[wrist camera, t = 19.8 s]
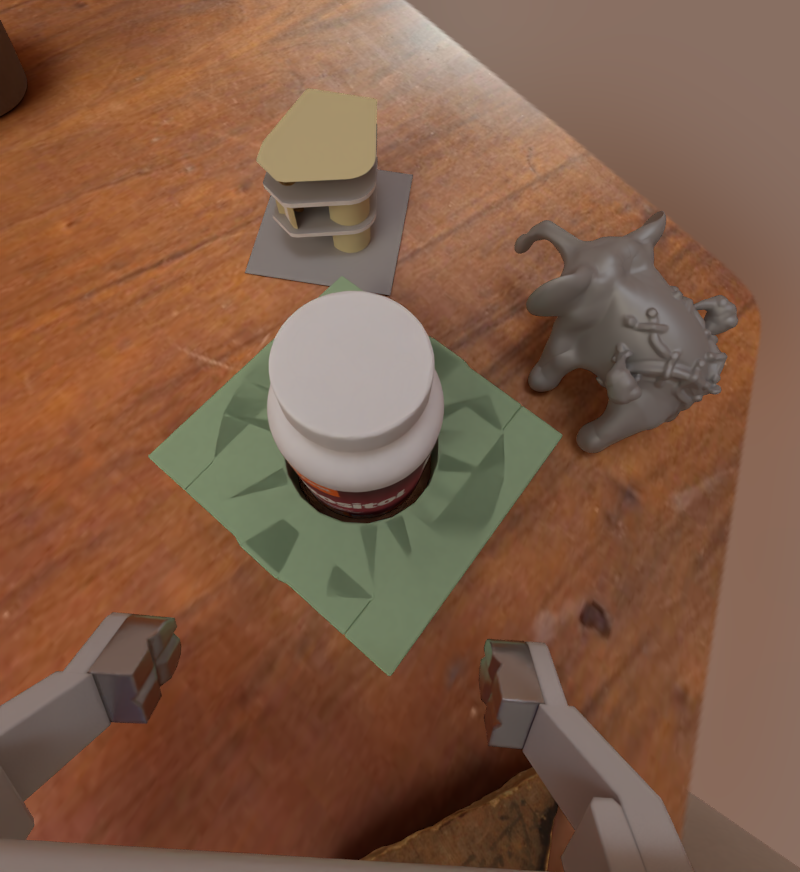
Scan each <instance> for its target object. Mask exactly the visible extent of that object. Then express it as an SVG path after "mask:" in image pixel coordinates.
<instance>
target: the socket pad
mask: <svg viewBox="0 0 800 872" xmlns="http://www.w3.org/2000/svg"><path fill="white" fill-rule="evenodd" d="M343 291H363V290H361V289H360V288H358V287H357V286H356V285H354V284H353V283H352V282H350V281H349V280H347V279H346V278H345V277H343V276H341V277H340V278H339V279H338V280H336V281H335V282H334V283H333V284H332V285H331V286H330V287H329V288H328V289H327V290H326V291H325V292H324V293H323V294H321V295H320V296H319V297H321V296H324V295H327V294H331V293H336V292H343ZM319 297H318V298H319ZM428 337H429V339H430V342H431V345H432V348H433V353H434V362H435V370H436V372H437V374H438V377H439V379H440V382H441V386H442V391H443V396H444V416H443V422H442V426H441V430H440V433H439V436H438V438H437V441H436V443H435V446H434V448H433V450H432V452H431V471H430V479H429V481H428V484H427V487H426V489H425V490H424V491H423V493H422V494H421V495H420V496H419V498H418V499H417V500H416V501H415V502H414V503H413V504H412V505H410V506H409V507H407V508H406V509H404V510H402V511H401V512H399V513H398V514H396V515H395V516H393V517H390V518H386V519H382V520H379V521H375V522H371V523H356V522H342V521H340V520H337V519H335V518H332V517H330V516H327V515H325V514H322V513H320V512H318V511H317V510H316V509H315V508H314V507H313V506H311V505H310V504H309V503H308V501H307V499H306V497H305V496H304V494H303V492H302V491H301V489H300V485H299V480H298V475H297V473H296V472H295V470H294V469H293V468H292V467H291V465H290V464H289V463H288V461H287V460H286V459H285V458H284V456H283V455H282V453H281V452H280V450H279V449H278V447H277V445H276V443H275V441H274V438H273V436H272V433H271V430H270V427H269V422H268V416H267V399H268V392H269V388H270V384H271V383H270V377H269V355H270V351H271V347H272V345H273V341H274V339H275V338H274V339H273V340H272V341H271V342H270V343H269V344H268V345H267V346H266V347H265V348H263V349H262V350H261V351H260V352H259V353H258V354H257V355H256V356H255V357H254V358H253V359H252V360H251V361H250V362H248V363H247V364H246V365H245V366H244V367H243V368H242V369H241V370H240V371H239V372H238V373H237V374H236V375H234V376H233V377H232V378H231V379H230V380H229V381H228V382H227V383H226V384H225V385H224V386H223V387H222V388H221V389H219V390H218V391H217V392H216V393H215V394H214V395H213V396H212V397H211V398H210V399H209V400H208V401H207V402H206V403H204V404H203V405H202V406H201V407H200V408H199V409H198V410H197V411H196V412H195V413H194V414H193V415H192V416H190V417H189V418H188V419H187V420H186V421H185V422H184V423H183V424H182V425H181V426H180V427H179V428H178V429H177V430H175V431H174V432H173V433H172V434H171V435H170V436H169V437H168V438H167V439H166V440H165V441H164V442H163V443H162V444H160V445H159V446H158V447H157V448H156V449H155V450H154V451H153V452H152V453H151V454H150V455H149V456H148V457H149V458H150V459H151V460H152V461H153V462H154V463H155V464H156V465H157V466H159V467H160V468H161V469H162V470H163V471H164V472H165V473H166V474H167V475H168V476H170V477H171V478H172V479H173V480H174V481H175V482H176V483H177V484H178V485H179V486H180V487H182V488H183V489H184V490H186V492H187V493H188V494H189V495H190V496H192V497H193V498H194V499H195V500H196V501H197V502H198V503H199V504H200V505H201V506H202V507H204V508H205V509H206V510H207V511H208V512H209V513H210V514H211V515H212V516H213V517H215V518H216V519H217V520H218V521H219V522H220V523H221V524H222V525H223V526H224V527H225V528H227V529H228V530H229V531H230V532H231V533H232V534H233V535H234V536H235V537H236V539H237V541H238V543H239V545H240V546H241V547H242V548H243V549H244V550H245V551H246V552H247V553H248V554H249V555H250V556H252V557H253V558H254V559H255V560H256V561H257V562H258V563H259V564H260V565H261V566H262V567H264V568H265V569H266V570H267V571H268V572H269V573H270V574H271V575H272V576H273V577H275V578H278V580H279V581H282V582H284V583H287V584H288V585H289V586H290V587H291V588H292V589H293V590H295V591H296V592H297V593H298V594H299V595H300V596H301V597H302V598H303V599H304V600H306V601H307V602H308V603H309V604H310V605H311V606H312V607H313V608H314V609H315V610H316V611H318V612H319V613H320V614H321V615H322V616H323V617H324V618H325V619H326V620H327V621H329V622H330V623H331V624H332V625H333V626H334V627H335V628H336V629H337V630H338V631H340V632H341V633H342V634H345V637H346V638H347V639H348V640H350V641H351V642H352V643H353V644H354V645H355V646H356V647H357V648H358V649H359V650H360V651H362V652H363V653H364V654H365V655H366V656H367V657H368V658H369V659H370V660H371V661H373V662H374V663H375V664H376V665H377V666H378V667H379V668H380V669H381V670H382V671H384V672H385V673H386V674H387V675H388V676H391V675H392V674H393V672H394V671H395V670H396V668H397V667H398V665H399V664H400V663H401V661H402V660H403V658H404V657H405V656H406V654H407V653H408V651H409V650H410V649H411V647H412V646H413V644H414V643H415V642H416V640H417V639H418V637H419V636H420V635H421V633H422V632H423V630H424V629H425V628H426V626H427V625H428V623H429V622H430V621H431V619H432V618H433V616H434V615H435V614H436V612H437V611H438V610H439V608H440V607H441V605H442V604H443V603H444V601H445V600H446V598H447V597H448V596H449V594H450V593H451V591H452V590H453V589H454V587H455V586H456V584H457V583H458V582H459V580H460V579H461V577H462V576H463V575H464V573H465V572H466V570H467V569H468V568H469V566H470V565H471V563H472V562H473V561H474V559H475V558H476V556H477V555H478V554H479V552H480V551H481V549H482V548H483V547H484V545H485V544H486V542H487V541H488V540H489V538H490V537H491V536H492V534H493V533H494V531H495V530H496V529H497V527H498V526H499V524H500V523H501V522H502V520H503V519H504V517H505V516H506V515H507V513H508V512H509V510H510V509H511V508H512V506H513V505H514V503H515V502H516V501H517V499H518V498H519V496H520V495H521V494H522V492H523V491H524V489H525V488H526V487H527V485H528V484H529V482H530V481H531V480H532V478H533V477H534V475H535V474H536V473H537V471H538V470H539V469H540V467H541V466H542V464H543V463H544V462H545V460H546V459H547V457H548V456H549V455H550V453H551V452H552V450H553V449H554V448H555V446H556V445H557V443H558V442H559V441H560V439H561V438H562V434H561V433H559V432H558V431H557V430H555V429H554V428H552V427H551V426H550V425H548V424H547V423H546V422H544V421H543V420H541V419H540V418H539V417H537V416H536V415H534V414H533V413H532V412H530V411H529V410H527V409H526V408H525V407H523V406H521V404H520V403H518V402H517V401H515V400H514V399H513V398H511V397H510V396H508V395H507V394H506V393H504V392H503V391H501V390H500V389H499V388H497V387H496V386H495V385H493V384H492V383H490V382H489V381H488V380H486V379H485V378H483V377H482V376H481V375H479V374H478V373H476V372H475V371H474V370H472V369H471V368H470V367H469V366H468V365H467V363H466V362H464V360H463V359H461V358H460V357H459V356H457V355H456V354H455V353H453V352H452V351H450V350H449V349H448V348H446V347H445V346H443V345H442V344H441V343H439V342H438V341H436V340H435V339H434V338H431V337H430V336H428Z"/></svg>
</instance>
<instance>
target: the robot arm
mask: <svg viewBox="0 0 800 872" xmlns="http://www.w3.org/2000/svg"><path fill="white" fill-rule="evenodd" d="M176 628H177V625H176V621H175V618H170V617H160V616H149V615H139V614H128V613H115V612H113V613H111V614H110V615H108V616H107V617H106V618H105V619H104V620H103V621H102V623H101V624H100V625H99V626H98V628H97V629H96V630H95V631H94V633H93V634H92V635H91V637H90V638H89V639H88V640H87V642H86V643H85V644H84V645H83V647H82V648H81V649H80V650H79V652H78V653H77V654H76V655H75V657H74V658H73V659H72V660H71V662H70V663H69V664H68V665H67V667H66V668H65V669H64V671H56V672H55V673H53V674H51V675H50V676H48V677H46V678H45V679H43V680H42V681H40V682H38V683H37V684H35V685H34V686H32V687H30V688H29V689H27V690H25V691H24V692H22V693H21V694H19V695H17V696H16V697H14V698H13V699H11V700H9V701H8V702H6V703H4V704H3V705H1V706H0V872H546V871H529V870H513V869H497V868H480V867H464V866H447V865H431V864H415V863H398V862H382V861H365V860H349V859H333V858H316V857H300V856H283V855H267V854H251V853H234V852H218V851H202V850H185V849H168V848H152V847H135V846H119V845H102V844H86V843H69V842H52V841H36V840H26V838H27V837H28V835H29V833H30V832H31V830H32V829H33V827H34V818H33V816H32V815H31V813H30V812H29V810H28V808H27V807H26V805H25V804H24V801H25V800H26V799H27V798H28V797H30V796H31V795H32V794H33V793H34V792H35V791H36V790H37V789H39V788H40V787H41V786H42V785H43V784H44V783H45V782H46V781H48V780H49V779H50V778H51V777H52V776H53V775H54V774H56V773H57V772H58V771H59V770H60V769H61V768H62V767H63V766H65V765H66V764H67V763H68V762H69V761H70V760H71V759H72V758H74V757H75V756H76V755H77V754H78V753H79V752H80V751H81V750H83V749H84V748H85V747H86V746H87V745H88V744H89V743H91V742H92V741H93V740H94V739H95V738H96V737H97V736H98V735H100V734H101V733H102V732H103V731H104V730H105V729H106V728H107V727H109V726H110V725H111V723H110V722H117V723H146V724H147V722H148V720H149V719H150V717H151V715H152V713H153V711H154V709H155V707H156V706H157V704H158V702H159V700H160V698H161V696H162V694H161V688H160V686H162V685H163V684H164V683H166V682H167V681H168V680H169V679H171V678H172V676H173V674H174V672H175V670H176V668H177V665H178V662H179V658H180V655H181V642H180V639H179V638H178V637H177V636H176V635H175V634H174V631H175V630H176ZM484 652H485V657H484V658H483V659H481V663H480V668H479V689H480V696H481V700H482V701H483V702H484V704H485V705H486V706H487V707H486V711H485V715H484V722H485V728H486V734H487V740H488V746H494V747H504V748H515V749H523V753H524V754H525V756H526V757H527V759H528V760H529V762H530V763H531V765H532V766H533V768H534V769H535V771H536V772H537V774H538V775H539V777H540V778H541V780H542V781H543V783H544V784H545V786H546V787H547V789H548V790H549V792H550V793H551V795H552V796H553V798H554V799H555V801H556V802H557V804H558V805H559V807H560V808H561V810H562V811H563V813H564V815H565V816H566V818H567V819H568V821H569V822H570V824H571V825H572V827H573V828H574V830H575V832H574V834H573V836H572V838H571V839H570V841H569V843H568V845H567V847H566V849H565V851H564V852H563V854H562V856H561V860H562V864H563V868H564V872H694V870H693V868H692V865H691V863H690V861H689V859H688V856H687V854H686V852H685V850H684V848H683V845H682V843H681V841H680V839H679V836H678V834H677V832H676V830H675V827H674V825H673V823H672V821H671V818H670V816H669V814H668V812H667V809H666V807H665V805H664V803H663V801H662V799H661V798H660V797H659V796H658V795H657V794H656V793H655V792H654V791H653V790H652V789H651V787H650V786H649V785H648V784H647V783H646V782H645V781H644V780H643V779H642V778H641V777H640V776H639V775H638V774H637V773H636V772H635V771H634V769H633V768H632V767H631V766H630V765H629V764H628V763H627V762H626V761H625V760H624V759H623V758H622V757H621V756H620V755H619V754H618V753H617V751H616V750H615V749H614V748H613V747H612V746H611V745H610V744H609V743H608V742H607V741H606V740H605V739H604V738H603V737H602V736H601V734H600V733H599V732H598V731H597V730H596V729H595V728H594V727H593V726H592V725H591V724H590V723H589V722H588V721H587V720H586V719H585V718H584V716H583V715H582V714H581V713H580V712H579V711H578V710H577V709H576V708H575V707H574V706H568V704H567V701H566V698H565V696H564V693H563V690H562V687H561V684H560V681H559V678H558V675H557V672H556V669H555V666H554V663H553V661H552V658H551V655H550V652H549V649H548V646H547V645H546V644H545V643H541V642H524V641H516V640H498V639H487V641H486V642H485V646H484Z"/></svg>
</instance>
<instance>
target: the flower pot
mask: <svg viewBox="0 0 800 872" xmlns="http://www.w3.org/2000/svg"><path fill="white" fill-rule="evenodd" d="M26 89H27V78H26V75H25V72H24V70H23V68H22V65H21V63H20V61H19V59H18V56H17V54H16V52H15V50H14V48H13V45H12V43H11V41H10V39H9V37H8V35H7V33H6V31H5V28H4V26H3V24H2V22H1V20H0V116H1V115H3V114H5V113H7V112H9V111H10V110H11V109H13V108H14V107H15V106H16V105H17V104H18V103H19V102H20V101H21V100H22V98H23V96H24V95H25V92H26Z"/></svg>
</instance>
